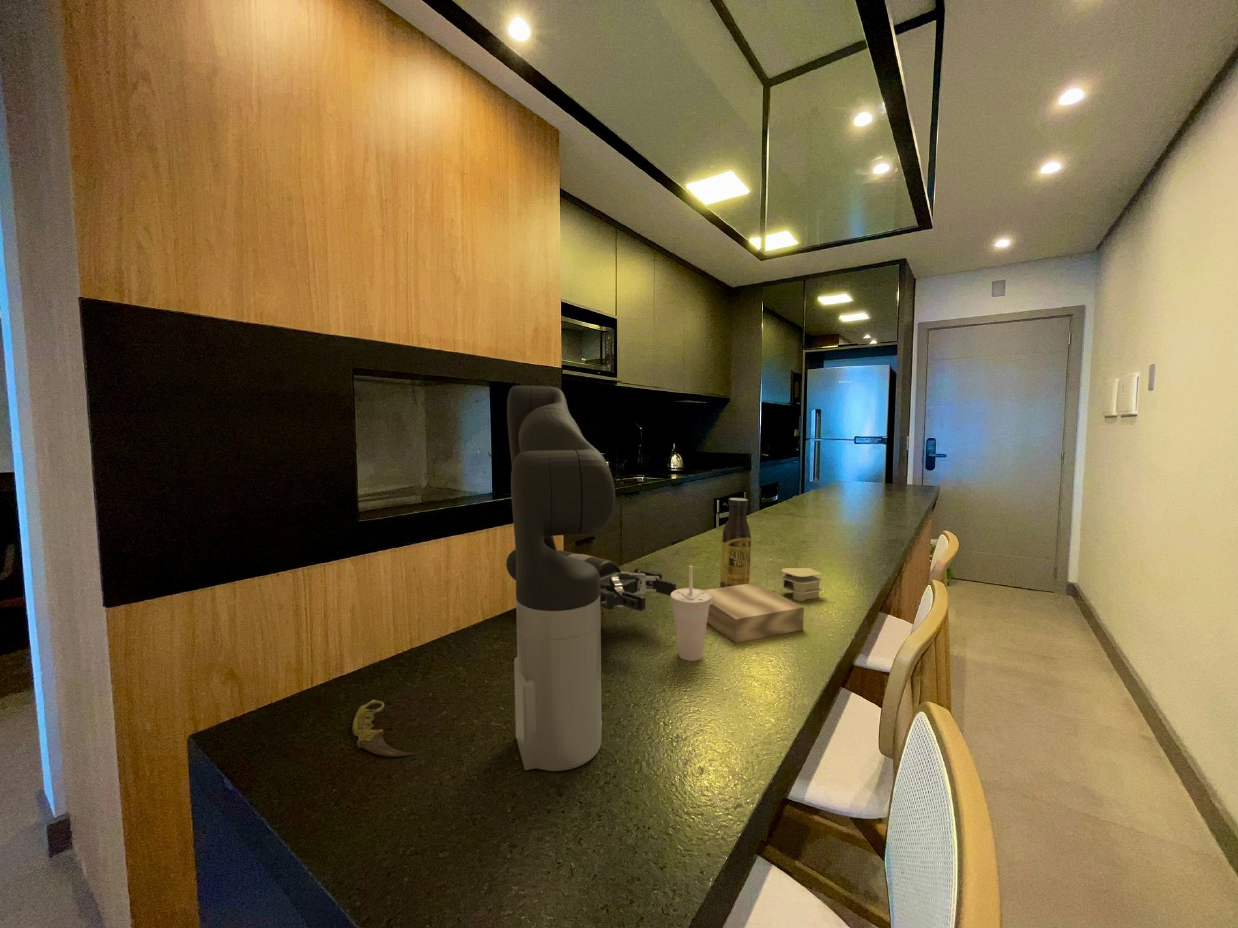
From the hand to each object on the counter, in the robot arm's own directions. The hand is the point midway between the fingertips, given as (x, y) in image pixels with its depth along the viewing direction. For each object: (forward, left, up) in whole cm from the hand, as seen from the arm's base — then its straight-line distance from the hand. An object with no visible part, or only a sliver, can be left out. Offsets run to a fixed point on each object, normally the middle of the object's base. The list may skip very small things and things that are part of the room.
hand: (660, 596), depth 78 cm
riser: (+19, +3, -8) cm, 21 cm away
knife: (-41, -8, -9) cm, 43 cm away
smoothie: (+3, -5, -8) cm, 10 cm away
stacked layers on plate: (+37, +9, -9) cm, 39 cm away
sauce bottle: (+27, +18, -8) cm, 33 cm away
